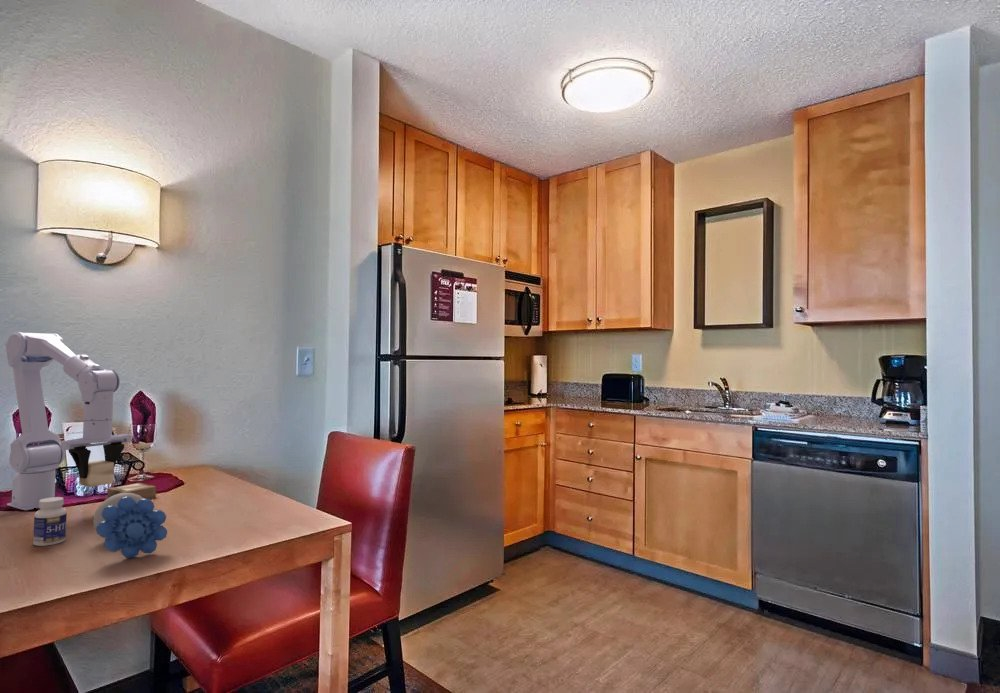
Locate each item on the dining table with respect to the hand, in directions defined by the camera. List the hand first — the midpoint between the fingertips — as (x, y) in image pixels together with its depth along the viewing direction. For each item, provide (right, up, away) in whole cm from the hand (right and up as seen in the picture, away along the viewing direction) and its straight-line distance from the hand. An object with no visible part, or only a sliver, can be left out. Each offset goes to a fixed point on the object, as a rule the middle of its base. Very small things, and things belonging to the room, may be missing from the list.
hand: (96, 475), depth 135 cm
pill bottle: (+5, -10, -19) cm, 22 cm away
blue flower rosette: (+27, -10, -28) cm, 40 cm away
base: (-1, -10, +15) cm, 18 cm away
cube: (0, -2, 0) cm, 2 cm away
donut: (+18, -10, -17) cm, 27 cm away
